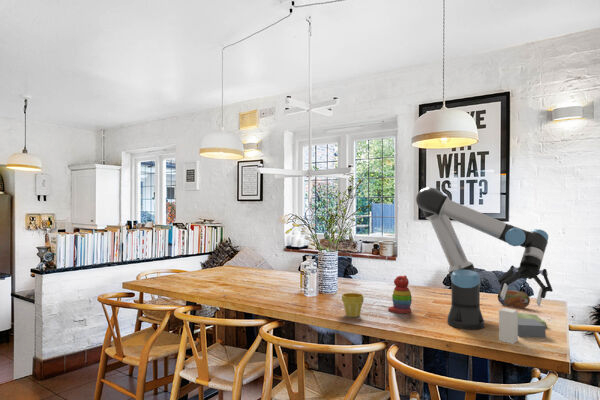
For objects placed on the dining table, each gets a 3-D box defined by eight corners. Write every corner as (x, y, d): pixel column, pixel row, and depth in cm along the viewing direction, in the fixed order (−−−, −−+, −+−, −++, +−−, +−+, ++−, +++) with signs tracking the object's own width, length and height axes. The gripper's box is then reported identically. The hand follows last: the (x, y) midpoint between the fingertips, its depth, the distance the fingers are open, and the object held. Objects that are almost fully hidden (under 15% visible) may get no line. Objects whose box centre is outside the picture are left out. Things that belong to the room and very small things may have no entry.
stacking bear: (401, 307, 206) (401, 273, 206) (416, 311, 197) (416, 276, 198) (386, 310, 200) (386, 275, 200) (401, 315, 191) (401, 278, 192)
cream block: (512, 344, 151) (512, 312, 152) (499, 340, 155) (499, 310, 155) (517, 341, 155) (517, 310, 155) (504, 337, 159) (504, 307, 159)
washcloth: (536, 318, 187) (536, 311, 188) (548, 329, 170) (548, 322, 171) (505, 316, 191) (505, 309, 191) (515, 327, 174) (515, 319, 174)
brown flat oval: (497, 304, 212) (497, 288, 212) (499, 303, 215) (499, 288, 215) (529, 309, 202) (529, 293, 202) (530, 308, 204) (530, 292, 205)
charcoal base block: (519, 337, 160) (519, 325, 160) (509, 329, 170) (509, 318, 170) (545, 338, 159) (545, 326, 159) (534, 330, 169) (534, 319, 169)
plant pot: (338, 313, 194) (338, 293, 194) (356, 311, 198) (356, 291, 198) (348, 319, 184) (348, 298, 184) (367, 316, 188) (367, 296, 188)
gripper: (567, 268, 165) (556, 311, 154) (504, 262, 183) (490, 300, 173) (563, 257, 161) (552, 300, 151) (499, 252, 179) (485, 290, 169)
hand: (519, 300), depth 162 cm, fingers open, 13 cm apart
